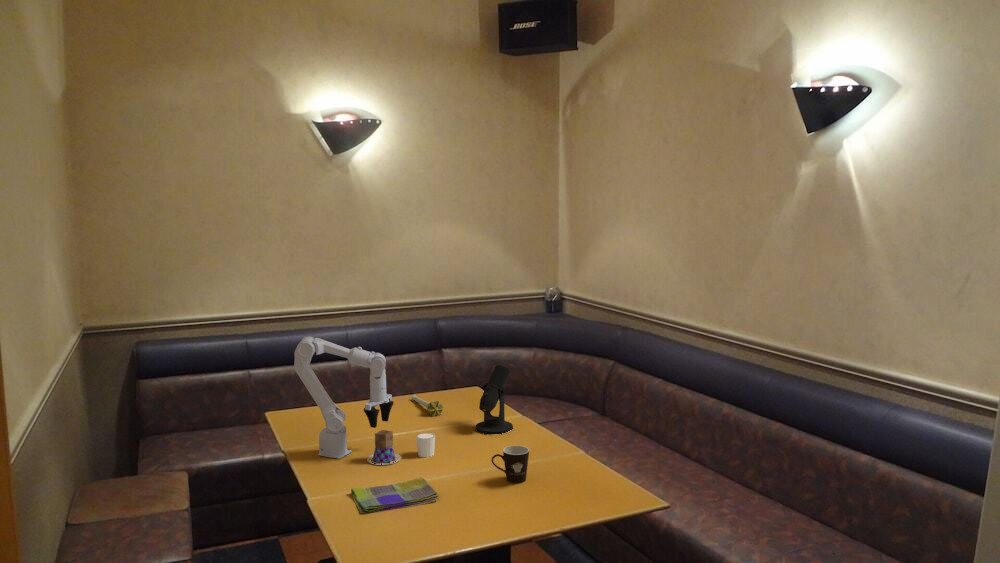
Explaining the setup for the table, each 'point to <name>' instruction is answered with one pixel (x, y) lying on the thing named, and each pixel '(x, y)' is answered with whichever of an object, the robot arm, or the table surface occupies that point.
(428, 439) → the white tapered cup
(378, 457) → the pudding
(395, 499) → the dish towel
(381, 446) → the walnut block
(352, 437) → the table surface
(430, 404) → the light stick
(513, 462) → the coffee mug
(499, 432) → the microphone
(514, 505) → the table surface
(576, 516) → the table surface
